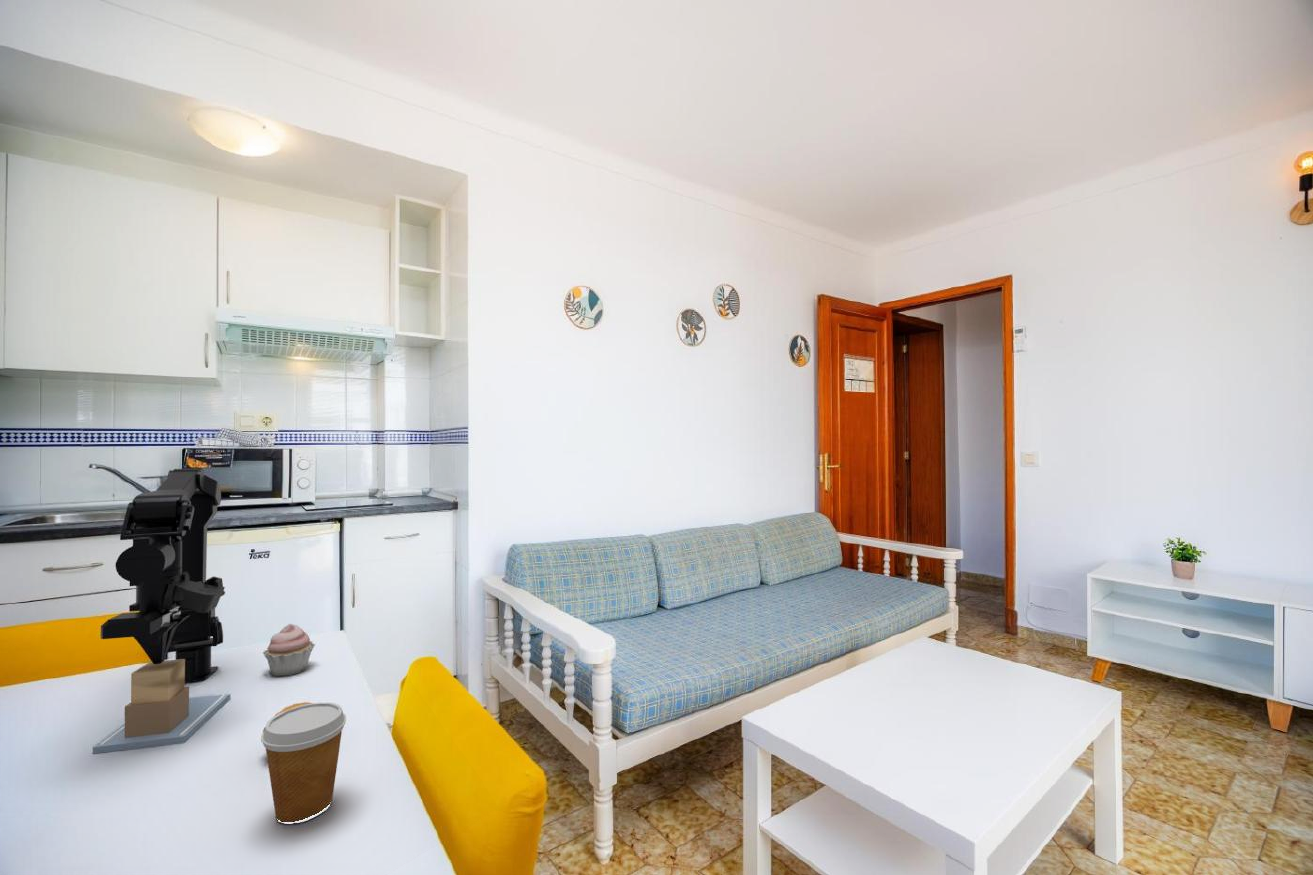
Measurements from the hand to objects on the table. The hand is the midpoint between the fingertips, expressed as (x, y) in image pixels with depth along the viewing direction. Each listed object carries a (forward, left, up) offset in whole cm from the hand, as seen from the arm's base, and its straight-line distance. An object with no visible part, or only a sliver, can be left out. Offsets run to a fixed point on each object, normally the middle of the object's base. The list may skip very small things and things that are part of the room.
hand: (158, 663), depth 94 cm
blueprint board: (-3, 0, -12) cm, 12 cm away
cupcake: (-23, +12, -12) cm, 28 cm away
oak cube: (0, 0, -6) cm, 6 cm away
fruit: (+13, +24, -12) cm, 30 cm away
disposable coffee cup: (+29, +30, -12) cm, 43 cm away
